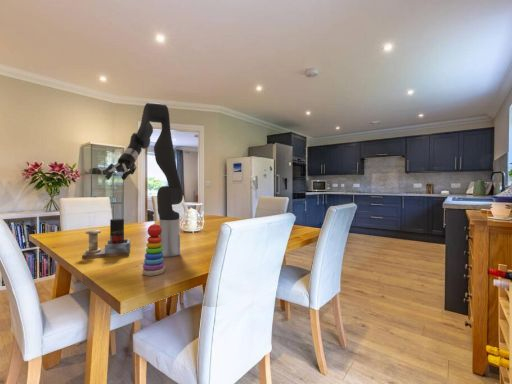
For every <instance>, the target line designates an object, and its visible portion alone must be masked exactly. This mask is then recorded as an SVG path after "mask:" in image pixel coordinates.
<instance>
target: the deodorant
mask: <svg viewBox="0 0 512 384" xmlns="http://www.w3.org/2000/svg"><path fill="white" fill-rule="evenodd" d="M109 224H110V225H109V229H110V230H109V235H110V236H109V240H110V244H120V243H124V239H125V219H124V218H112V219H110V220H109Z"/></svg>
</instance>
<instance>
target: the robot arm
mask: <svg viewBox="0 0 512 384" xmlns="http://www.w3.org/2000/svg"><path fill="white" fill-rule="evenodd" d="M152 123H160V125H161V131H160V133H159V136H158V138H157V140H156V142H155V143H154V145H153V152H154V157H155V158H154V159H155V162H156V164H157V165H158V168H159V169H160V170H161V172H162V173H163V174H164V176H165V178H166V181H167V185H162V186H160V187H159V188H158V189H157V194H156V202H157V204H156V205H157V206H156V207H157V214H158V216H159V223H158V225H159V226H160V227H161V229H162V232H161V234H160V235H159V236H160V237H161V241H160V242H161V243H162V246H161V247H162V249H163V250H162V253H163V256H162V257H163V258H165V257H166V258H167V257H168V258H169V257H176V256H180V255H181V234H180V213H179V212H177V211H175V210H174V208H173V205H174V206H175V205H179V204H181V203H182V201H183V198H184V192H183V189H182V185H181V181H180V177H179V173H178V167H177V162H176V155H175V149H174V144H173V140H172V139H173V138H172V134H171V133H172V132H171V119H170V113H169V108H168V106H167V104H164V103H159V102H146V103H145V105H144V107H143V111H142V116H141V121H140V126H139V127H138V129H137V131H136V132H133V133H132V134H131V136H130V141H129V144H128V146H127V147H126V149H125V150H124V151H123V152H122V154H121V155H120V157H119V158H118V159H117V163H116V164H113V163H110V164H109V165H108V167H107V168H106V169H105V173H106V175H105V178H106V180H107V181H109V180H110V179H111V178H112V176H113V175H114V174H118V173H121V172H122V175H121V179H122V180H123V181H125V180H126V179H127V178H128V177H129V176H130V175H131V176H132V175H134V173H135V172H136V170H137V165H136V164H135V163H136V161H137V160H138V158H139V156H140V154H141V153H142V150H143V149H144V150H145V149H148V148H149V146H150V144H151V137H152V134H153V132H154V127H153V125H152Z"/></svg>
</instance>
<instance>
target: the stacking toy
mask: <svg viewBox="0 0 512 384" xmlns="http://www.w3.org/2000/svg"><path fill="white" fill-rule="evenodd" d="M161 232H162V229H161V227H160V226H159V224H156V223H154V224H150V225H149V226H148V228H147V235H148V236H149V237H147V243H146V249H145V253H144V259H143V265H142V270H141V272H142V275H144V276H148V277H149V276H150V277H153V276H159V275H162V274H164V273H165V267H164V266H165V263H164V260H165V259H164V257H163V253H162V250H163V249H162V247H161V246H162V243H161V242H160V241H161V237H160V236H159V235H160V234H161Z"/></svg>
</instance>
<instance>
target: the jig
mask: <svg viewBox="0 0 512 384" xmlns="http://www.w3.org/2000/svg"><path fill="white" fill-rule="evenodd" d="M98 234H101V229H90V230H85V235H88V249H85V251H84V253H83V254H82V255H81V258H82V259H81V260H84V259H94V258H95V259H96V258H105V257H106V258H107V257H116V256H118V257H119V256H128V255H130V251H131V238H124V243H120V244H110V239H109V240H107V244H104V248H100V247H99V244H98V243H99V242H98V238H99V237H98Z"/></svg>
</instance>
